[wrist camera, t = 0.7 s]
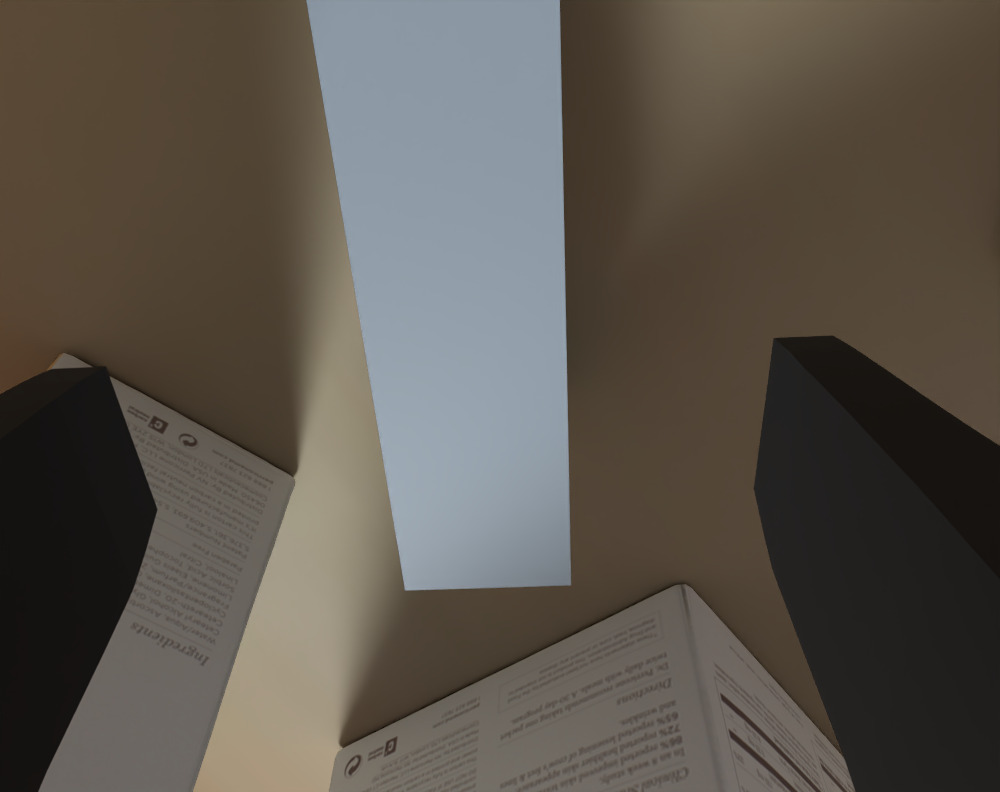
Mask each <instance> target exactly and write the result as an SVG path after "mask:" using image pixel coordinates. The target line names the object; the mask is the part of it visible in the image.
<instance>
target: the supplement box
mask: <svg viewBox="0 0 1000 792" xmlns="http://www.w3.org/2000/svg"><path fill="white" fill-rule="evenodd" d="M329 792H855V789H854V786H853V783H852V780H851V777H850V774H849V771H848V768H847V765H846V762H845V759H844V757H843V756H842V755H841V754H840V753H839V752H838V751H837V750H836V748H835V747H834V746H833V745H832V744H831V743H830V742H829V741H828V739H827V738H826V737H825V736H824V735H823V734H822V733H821V732H820V730H819V729H818V728H817V727H816V726H815V725H814V724H813V722H812V721H811V720H810V719H809V718H808V717H807V716H806V715H805V713H804V712H803V711H802V710H801V709H800V708H799V707H798V706H797V705H796V703H795V702H794V701H793V700H792V699H791V698H790V697H789V696H788V694H787V693H786V692H785V691H784V690H783V689H782V688H781V687H780V686H779V684H778V683H777V682H776V681H775V680H774V679H773V678H772V677H771V675H770V674H769V673H768V672H767V671H766V670H765V669H764V668H763V667H762V665H761V664H760V663H759V662H758V661H757V660H756V659H755V658H754V657H753V655H752V654H751V653H750V652H749V651H748V650H747V649H746V648H745V646H744V645H743V644H742V643H741V642H740V641H739V640H738V639H737V638H736V636H735V635H734V634H733V633H732V632H731V631H730V630H729V629H728V628H727V626H726V625H725V624H724V623H723V622H722V621H721V620H720V619H719V618H718V617H717V615H716V614H715V613H714V612H713V611H712V610H711V609H710V608H709V607H708V606H707V604H706V603H705V602H704V601H703V600H702V599H701V598H700V597H699V596H698V595H697V593H696V592H695V591H694V590H693V589H692V588H691V587H689V586H688V585H686V584H683V585H674V586H672V587H670V588H668V589H666V590H664V591H662V592H660V593H658V594H655V595H653V596H651V597H649V598H647V599H645V600H643V601H641V602H639V603H637V604H635V605H633V606H631V607H629V608H627V609H625V610H623V611H621V612H619V613H617V614H615V615H613V616H611V617H609V618H607V619H605V620H603V621H601V622H599V623H597V624H595V625H593V626H591V627H589V628H587V629H585V630H583V631H581V632H579V633H577V634H575V635H573V636H571V637H569V638H566V639H564V640H562V641H560V642H558V643H556V644H554V645H552V646H550V647H548V648H546V649H544V650H542V651H540V652H538V653H536V654H534V655H532V656H530V657H528V658H526V659H524V660H521V661H519V662H517V663H515V664H513V665H511V666H509V667H507V668H505V669H503V670H501V671H499V672H497V673H495V674H493V675H491V676H489V677H487V678H484V679H482V680H480V681H478V682H476V683H474V684H472V685H470V686H468V687H466V688H464V689H462V690H460V691H458V692H456V693H454V694H452V695H450V696H448V697H446V698H444V699H442V700H440V701H438V702H436V703H434V704H432V705H430V706H428V707H426V708H424V709H421V710H419V711H417V712H415V713H413V714H411V715H409V716H407V717H405V718H403V719H401V720H399V721H397V722H395V723H393V724H391V725H389V726H387V727H385V728H383V729H381V730H379V731H377V732H375V733H373V734H370V735H368V736H366V737H364V738H362V739H360V740H358V741H356V742H354V743H352V744H350V745H348V746H346V747H345V748H343V749H341V750H340V751H339V752H338V753H337V755H336V758H335V761H334V767H333V772H332V777H331V783H330V788H329Z"/></svg>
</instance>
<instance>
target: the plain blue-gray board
mask: <svg viewBox="0 0 1000 792" xmlns="http://www.w3.org/2000/svg"><path fill="white" fill-rule="evenodd" d="M306 1H307V7H308V13H309V19H310V25H311V31H312V37H313V43H314V49H315V55H316V61H317V67H318V73H319V79H320V85H321V91H322V97H323V103H324V109H325V115H326V121H327V127H328V133H329V139H330V145H331V151H332V157H333V163H334V169H335V175H336V181H337V187H338V193H339V198H340V204H341V210H342V216H343V222H344V228H345V234H346V240H347V246H348V252H349V258H350V264H351V270H352V276H353V282H354V288H355V294H356V300H357V306H358V312H359V318H360V324H361V330H362V336H363V342H364V348H365V354H366V360H367V366H368V372H369V378H370V384H371V390H372V396H373V402H374V408H375V414H376V420H377V426H378V431H379V437H380V443H381V449H382V455H383V461H384V467H385V473H386V479H387V485H388V491H389V497H390V503H391V509H392V515H393V521H394V527H395V533H396V539H397V545H398V551H399V557H400V563H401V569H402V575H403V581H404V587H405V591H407V590H439V589H471V588H503V587H535V586H567V585H571V557H570V506H569V454H568V402H567V350H566V298H565V247H564V195H563V143H562V91H561V40H560V0H306Z"/></svg>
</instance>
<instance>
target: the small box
mask: <svg viewBox="0 0 1000 792" xmlns="http://www.w3.org/2000/svg"><path fill="white" fill-rule="evenodd" d="M83 367H92V366H90V365H88V364H86V363H85V362H83V361H81V360H79V359H77V358H76V357H74V356H72V355H69V354H66V353H62V354H59V355H58V357H57V358H56V359H55V360H54V361H53V363H52V364H51V365H50V366H49V367H48V368H47V370H46V371H48V370H50V369H59V368H83ZM46 371H45V372H46ZM110 379H111V382H112V385H113V387H114V390H115V393H116V396H117V398H118V401H119V404H120V407H121V409H122V412H123V415H124V418H125V420H126V423H127V426H128V429H129V432H130V434H131V437H132V440H133V443H134V445H135V448H136V451H137V454H138V456H139V459H140V462H141V465H142V467H143V470H144V473H145V476H146V479H147V481H148V484H149V487H150V490H151V492H152V495H153V498H154V501H155V503H156V506H157V509H158V510H157V513H156V517H155V521H154V524H153V528H152V531H151V535H150V538H149V542H148V545H147V549H146V552H145V555H144V559H143V562H142V565H141V568H140V571H139V574H138V577H137V580H136V583H135V586H134V589H133V591H132V593H131V596H130V598H129V600H128V602H127V604H126V607H125V609H124V611H123V613H122V615H121V617H120V620H119V622H118V624H117V626H116V628H115V630H114V632H113V635H112V637H111V639H110V641H109V643H108V645H107V647H106V650H105V652H104V654H103V656H102V658H101V660H100V662H99V664H98V666H97V668H96V670H95V673H94V675H93V677H92V679H91V681H90V683H89V685H88V687H87V689H86V691H85V693H84V695H83V697H82V700H81V702H80V704H79V706H78V708H77V710H76V712H75V714H74V716H73V718H72V720H71V722H70V725H69V727H68V729H67V731H66V733H65V735H64V737H63V739H62V741H61V743H60V745H59V747H58V750H57V752H56V754H55V756H54V758H53V760H52V762H51V764H50V766H49V768H48V770H47V773H46V775H45V777H44V780H43V782H42V784H41V787H40V789H39V791H38V792H193V789H194V786H195V783H196V780H197V777H198V774H199V771H200V768H201V765H202V761H203V758H204V755H205V752H206V749H207V746H208V743H209V740H210V737H211V734H212V731H213V728H214V724H215V721H216V718H217V715H218V712H219V708H220V705H221V702H222V699H223V696H224V693H225V690H226V686H227V683H228V680H229V677H230V674H231V671H232V668H233V665H234V662H235V659H236V656H237V653H238V649H239V646H240V643H241V640H242V637H243V634H244V631H245V628H246V625H247V622H248V619H249V616H250V613H251V610H252V607H253V604H254V601H255V598H256V595H257V592H258V589H259V586H260V584H261V581H262V578H263V575H264V572H265V569H266V567H267V564H268V561H269V558H270V556H271V553H272V550H273V547H274V544H275V541H276V538H277V535H278V532H279V529H280V526H281V523H282V520H283V517H284V514H285V511H286V508H287V505H288V502H289V499H290V496H291V494H292V491H293V489H294V486H295V479H294V478H293V477H292V476H290V475H289V474H287V473H285V472H284V471H282V470H280V469H278V468H276V467H274V466H273V465H271V464H270V463H268V462H266V461H264V460H263V459H261V458H259V457H257V456H255V455H253V454H252V453H250V452H248V451H246V450H244V449H242V448H241V447H239V446H237V445H236V444H234V443H232V442H230V441H228V440H226V439H224V438H222V437H221V436H219V435H217V434H215V433H213V432H212V431H210V430H208V429H206V428H204V427H203V426H201V425H199V424H197V423H195V422H193V421H191V420H190V419H188V418H186V417H184V416H182V415H181V414H179V413H177V412H175V411H174V410H172V409H170V408H168V407H166V406H164V405H162V404H160V403H159V402H157V401H155V400H153V399H151V398H150V397H148V396H146V395H144V394H143V393H141V392H139V391H137V390H135V389H133V388H131V387H129V386H127V385H125V384H124V383H122V382H120V381H118V380H116V379H114V378H112V377H111V376H110Z"/></svg>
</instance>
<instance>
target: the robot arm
mask: <svg viewBox="0 0 1000 792" xmlns="http://www.w3.org/2000/svg"><path fill="white" fill-rule="evenodd" d="M754 491H755V496H756V500H757V505H758V509H759V514H760V519H761V523H762V528H763V532H764V536H765V540H766V545H767V549H768V553H769V557H770V561H771V565H772V569H773V572H774V574H775V577H776V580H777V583H778V585H779V588H780V591H781V593H782V596H783V599H784V601H785V604H786V607H787V609H788V612H789V615H790V617H791V620H792V623H793V625H794V628H795V631H796V633H797V636H798V639H799V641H800V644H801V646H802V649H803V652H804V654H805V657H806V659H807V662H808V665H809V667H810V670H811V672H812V675H813V678H814V680H815V683H816V685H817V688H818V691H819V693H820V696H821V699H822V701H823V704H824V706H825V709H826V712H827V714H828V717H829V719H830V722H831V725H832V727H833V730H834V732H835V735H836V738H837V740H838V743H839V745H840V748H841V751H842V753H843V756H844V759H845V762H846V765H847V768H848V771H849V774H850V777H851V780H852V783H853V786H854V789H855V792H1000V446H999V445H997V444H996V443H994V442H993V441H991V440H990V439H988V438H986V437H985V436H983V435H982V434H980V433H979V432H977V431H976V430H974V429H973V428H971V427H970V426H968V425H967V424H965V423H964V422H962V421H961V420H959V419H957V418H956V417H954V416H953V415H951V414H950V413H948V412H947V411H945V410H944V409H943V408H941V407H940V406H938V405H937V404H935V403H934V402H932V401H931V400H929V399H928V398H926V397H925V396H923V395H922V394H920V393H919V392H918V391H916V390H915V389H913V388H912V387H910V386H909V385H907V384H906V383H904V382H903V381H902V380H900V379H899V378H897V377H896V376H894V375H893V374H891V373H890V372H888V371H887V370H886V369H884V368H883V367H881V366H880V365H878V364H877V363H875V362H874V361H872V360H871V359H869V358H868V357H866V356H865V355H863V354H862V353H860V352H859V351H857V350H856V349H854V348H853V347H851V346H850V345H848V344H846V343H845V342H843V341H841V340H839V339H838V338H836V337H834V336H812V337H789V338H774V340H773V348H772V355H771V363H770V371H769V378H768V386H767V393H766V401H765V408H764V416H763V424H762V431H761V439H760V446H759V454H758V461H757V469H756V477H755V484H754ZM157 510H158V509H157V506H156V503H155V501H154V498H153V495H152V492H151V490H150V487H149V484H148V481H147V479H146V476H145V473H144V470H143V467H142V465H141V462H140V459H139V456H138V454H137V451H136V448H135V445H134V443H133V440H132V437H131V434H130V432H129V429H128V426H127V423H126V420H125V418H124V415H123V412H122V409H121V407H120V404H119V401H118V398H117V396H116V393H115V390H114V387H113V385H112V382H111V379H110V376H109V373H108V371H107V368H106V367H83V368H59V369H50V370H48V371H46V372H44V373H41V374H39V375H37V376H35V377H32V378H30V379H28V380H26V381H24V382H22V383H20V384H19V385H17V386H15V387H13V388H11V389H9V390H7V391H5V392H4V393H2V394H0V792H38V791H39V789H40V787H41V784H42V782H43V780H44V777H45V775H46V773H47V770H48V768H49V766H50V764H51V762H52V760H53V758H54V756H55V754H56V752H57V750H58V747H59V745H60V743H61V741H62V739H63V737H64V735H65V733H66V731H67V729H68V727H69V725H70V722H71V720H72V718H73V716H74V714H75V712H76V710H77V708H78V706H79V704H80V702H81V700H82V697H83V695H84V693H85V691H86V689H87V687H88V685H89V683H90V681H91V679H92V677H93V675H94V673H95V670H96V668H97V666H98V664H99V662H100V660H101V658H102V656H103V654H104V652H105V650H106V647H107V645H108V643H109V641H110V639H111V637H112V635H113V632H114V630H115V628H116V626H117V624H118V622H119V620H120V617H121V615H122V613H123V611H124V609H125V607H126V604H127V602H128V600H129V598H130V596H131V593H132V591H133V589H134V586H135V583H136V580H137V577H138V574H139V571H140V568H141V565H142V562H143V559H144V555H145V552H146V549H147V545H148V542H149V538H150V535H151V531H152V528H153V524H154V521H155V517H156V513H157Z"/></svg>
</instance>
